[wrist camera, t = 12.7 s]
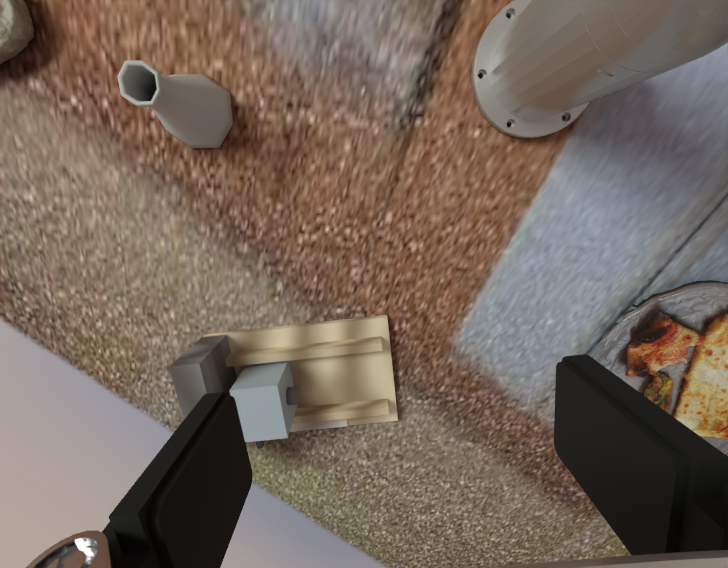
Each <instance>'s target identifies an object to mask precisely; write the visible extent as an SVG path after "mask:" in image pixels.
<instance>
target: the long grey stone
mask: <svg viewBox="0 0 728 568" xmlns="http://www.w3.org/2000/svg"><path fill="white" fill-rule="evenodd" d="M33 37H34V27H33V24H32V19H31V17H30V13H29V11H28V8H27V5H26V3H25V2H24V0H0V64H2V63H3V62H4V61H7V60H8V59H11V58H13V57H15V56H16V55H17V54H18V53H19V52H20V51H23V49H24V48H25V47H27V46H28V43H29V41H30V40H32V39H33Z"/></svg>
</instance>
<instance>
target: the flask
mask: <svg viewBox="0 0 728 568" xmlns="http://www.w3.org/2000/svg"><path fill="white" fill-rule="evenodd" d="M118 81H119V86H120V92H121V95H122V96H123V97H125V98H126V99H127V100H129V101H130V102H132V103H133V104H134V105H136V106H138V107H151V109H152V110H153V111H154V113H155V114H156V115H157V117H158V118H159V119H160V121H161V123H162V124H163V126H164V127H165V129H166V130H167V131H168V132H169V133H171V134H172V135H173V136H175V137H176V138H178V139H179V140H181V141H182V142H183V143H185V144H186V145H188V146H189V147H191V148H220V146H221V144H222V142H223V141H224V139H225V137H226V135H227V134H228V132H229V130H230V128H231V127H232V125H233V117H232V108H231V98H230V92H228V91H227V90H226V89H224V88H223V87H222V86H220V85H219V84H217V83H216V82H215V81H213V80H212V79H211V78H209V77H208V76H207V75H205V74H185V75H170V76H166V75H162V74H160V72H158V71H157V70H155V69H154V68H153V67H151V66H150V65H149V64H147V63H146V62H144V61H143V60H138V61H125V62H124V64H123V66H122V68H121V71H120V73H119V75H118Z"/></svg>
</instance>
